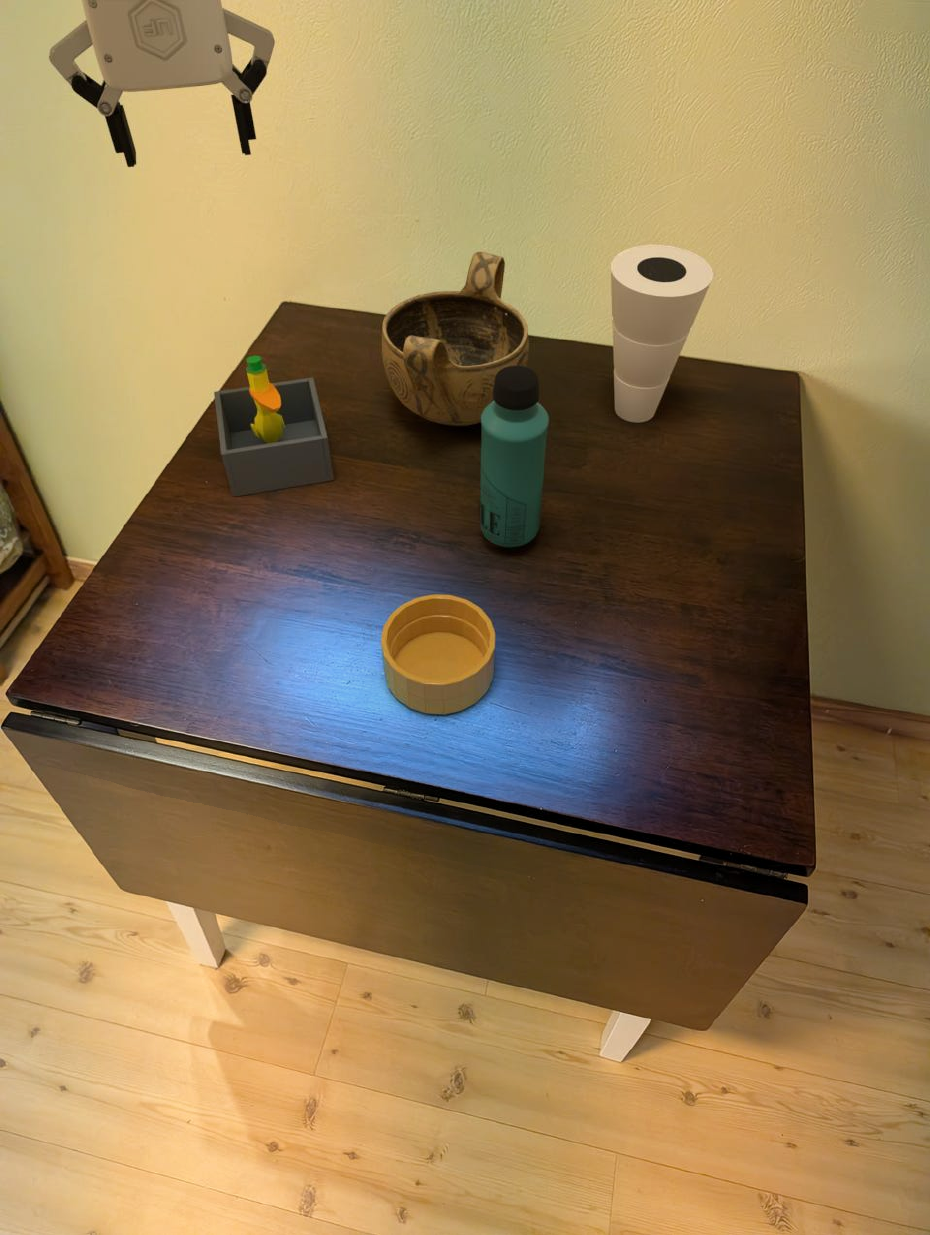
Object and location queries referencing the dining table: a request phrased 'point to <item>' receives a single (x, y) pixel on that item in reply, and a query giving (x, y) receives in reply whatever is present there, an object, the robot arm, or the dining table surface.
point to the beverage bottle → (512, 459)
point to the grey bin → (275, 463)
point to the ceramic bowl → (454, 346)
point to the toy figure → (264, 402)
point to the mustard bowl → (438, 653)
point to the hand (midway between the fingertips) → (189, 154)
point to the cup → (652, 321)
